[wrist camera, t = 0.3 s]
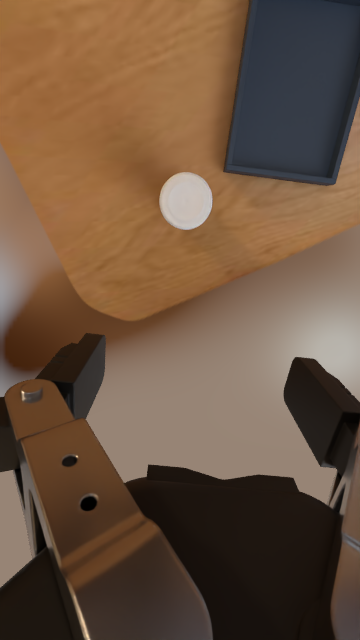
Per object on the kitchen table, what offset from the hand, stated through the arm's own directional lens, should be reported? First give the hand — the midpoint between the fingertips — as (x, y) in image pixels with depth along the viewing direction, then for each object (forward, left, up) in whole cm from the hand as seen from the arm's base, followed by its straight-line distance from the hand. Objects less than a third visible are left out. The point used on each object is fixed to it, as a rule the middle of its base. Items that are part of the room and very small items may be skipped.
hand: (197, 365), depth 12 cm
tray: (-20, +10, -29) cm, 36 cm away
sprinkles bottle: (-7, -1, -29) cm, 30 cm away
